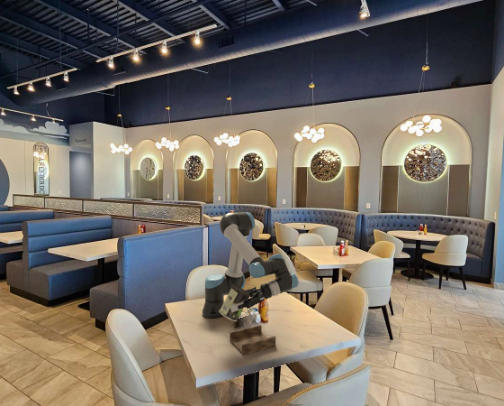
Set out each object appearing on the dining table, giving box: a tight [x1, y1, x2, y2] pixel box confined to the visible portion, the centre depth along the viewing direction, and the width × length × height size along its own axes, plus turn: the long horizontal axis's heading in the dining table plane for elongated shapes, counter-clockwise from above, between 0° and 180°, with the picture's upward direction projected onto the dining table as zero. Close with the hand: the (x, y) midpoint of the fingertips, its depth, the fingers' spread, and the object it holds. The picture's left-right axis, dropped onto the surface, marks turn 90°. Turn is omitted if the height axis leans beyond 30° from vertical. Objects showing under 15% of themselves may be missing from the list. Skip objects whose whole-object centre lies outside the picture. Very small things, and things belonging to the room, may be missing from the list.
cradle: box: [229, 324, 277, 356], centre depth 149 cm, size 18×15×4 cm
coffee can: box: [219, 285, 251, 322], centre depth 147 cm, size 10×10×14 cm
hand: (228, 305), depth 147 cm, fingers closed on coffee can, 10 cm apart
